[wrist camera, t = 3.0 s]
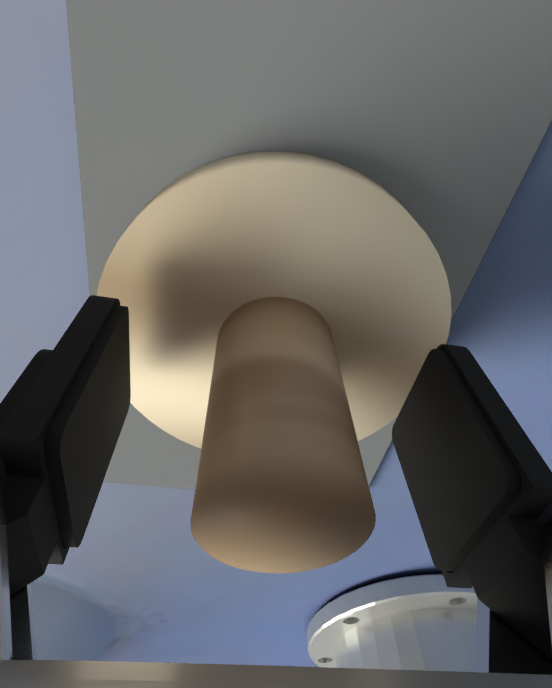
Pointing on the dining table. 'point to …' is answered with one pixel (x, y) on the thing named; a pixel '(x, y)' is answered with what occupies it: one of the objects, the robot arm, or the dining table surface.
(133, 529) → the dining table surface
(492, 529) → the robot arm
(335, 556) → the lid
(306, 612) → the dining table surface
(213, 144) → the mat
